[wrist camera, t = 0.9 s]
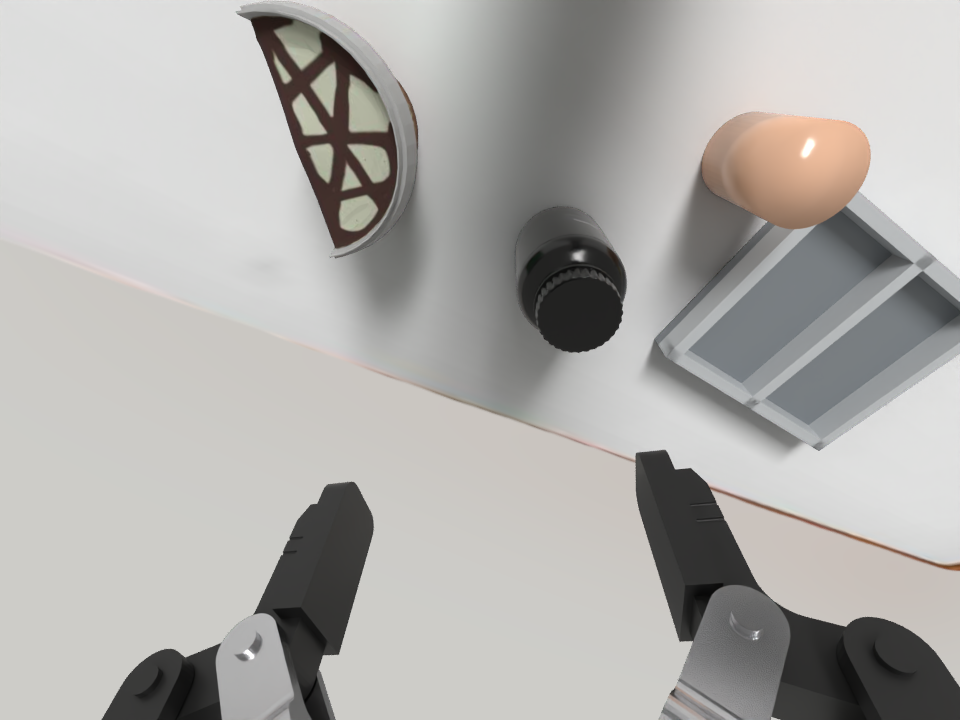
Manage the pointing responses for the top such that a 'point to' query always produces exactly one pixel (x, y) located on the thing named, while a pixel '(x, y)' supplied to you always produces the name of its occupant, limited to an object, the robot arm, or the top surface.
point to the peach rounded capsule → (787, 166)
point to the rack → (821, 322)
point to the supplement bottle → (569, 279)
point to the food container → (341, 119)
